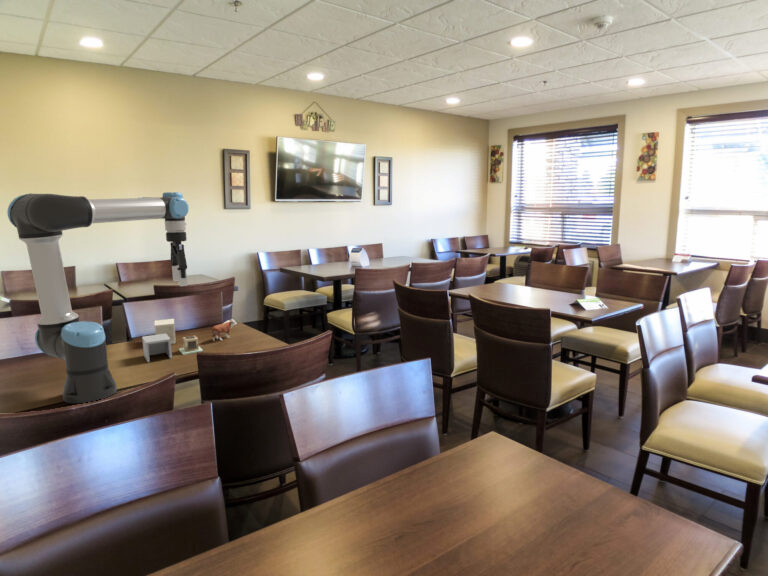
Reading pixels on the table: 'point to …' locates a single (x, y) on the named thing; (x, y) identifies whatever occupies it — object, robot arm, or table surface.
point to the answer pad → (189, 351)
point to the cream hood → (166, 328)
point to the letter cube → (190, 343)
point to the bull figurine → (223, 329)
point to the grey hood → (156, 345)
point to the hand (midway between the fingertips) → (180, 283)
